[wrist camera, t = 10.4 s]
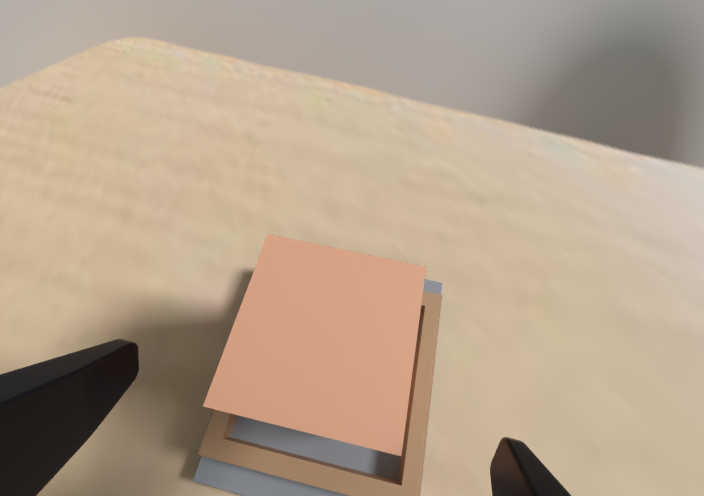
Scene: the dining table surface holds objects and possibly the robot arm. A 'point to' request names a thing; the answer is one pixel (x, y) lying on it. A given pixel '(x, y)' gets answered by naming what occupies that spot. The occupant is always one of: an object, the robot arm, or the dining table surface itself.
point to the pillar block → (324, 344)
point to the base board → (324, 443)
